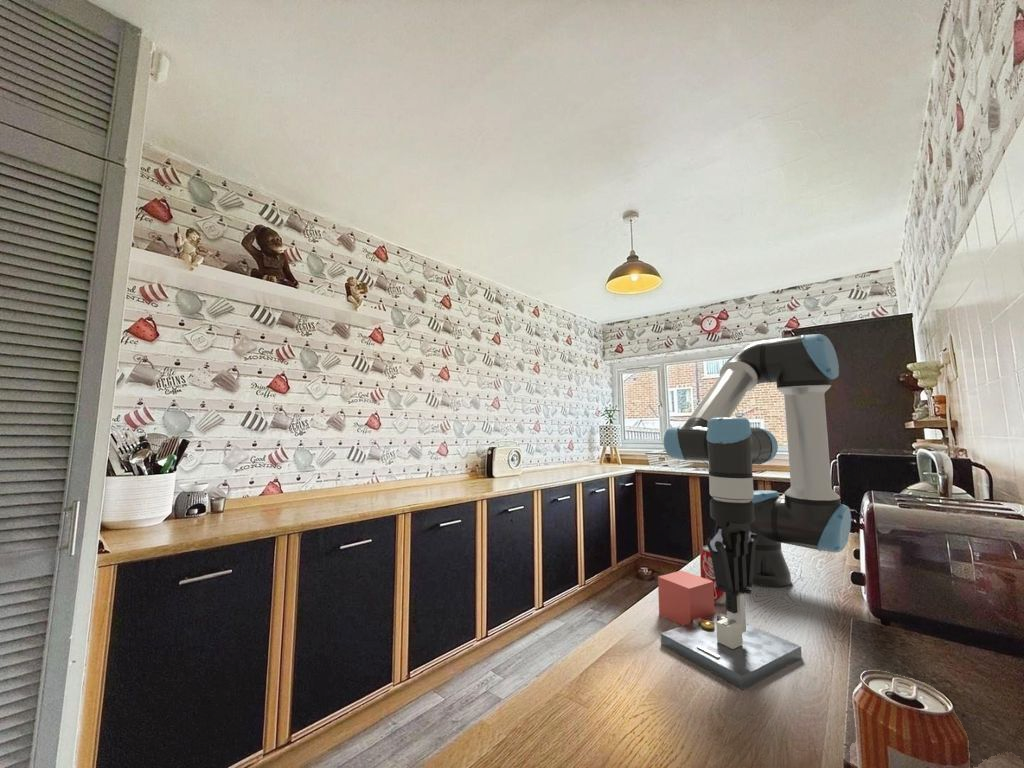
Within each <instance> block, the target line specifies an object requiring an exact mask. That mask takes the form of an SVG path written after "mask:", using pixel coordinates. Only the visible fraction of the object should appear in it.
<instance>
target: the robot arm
mask: <svg viewBox="0 0 1024 768" xmlns="http://www.w3.org/2000/svg"><path fill="white" fill-rule="evenodd" d="M836 352H837V351H836V350H835V347H834V345H833V344H832V342H831V340H830V338H829V337H828V336H826V335H825V334H821V333H816V334H815V333H814V334H813V333H812V334H801V335H797V336H796V335H795V336H788V337H782V338H775V339H767V340H760V341H757V342H753V343H751V344H748V345H747V346H745V347H744V348H742V349H740V350H738V351H737V352H736V353H735V354H733V355H732V356H731V357H729V358H728V360H727V361H726V362H725V363H724V364H723V365H722V367H721V368H720V371H719V377H718V379H717V380H716V381H715V383H714V384H713V386H712V387H711V388H710V389H709V391H708V392H707V393H706V395H705V396H704V397H703V399H702V401H701V402H700V403H699V404H698V406H696V408H695V410H694V411H693V413H692V414H691V416H689V417H688V419H687V420H686V421H685V423H684V425H682V426H679V425H678V426H672V427H669V428H668V429H667V430H666V431H665V432H664V435H663V448H664V449H665V453H666V454H667V456H669V457H670V458H672V459H675V460H676V459H678V460H683V461H696V462H697V461H698V462H700V461H701V462H708V481H709V482H708V483H709V487H708V488H709V489H708V490H709V495H710V496H711V497H712V498H710V499H709V515H710V518H711V519H712V520H714V521H715V528H714V536H713V538H712V539H711V538H707V539H706V541H705V543H706V545H707V546H708V548H709V550H710V553H711V559H712V564H713V569H714V574H715V579H716V585H717V589H718V590H721V591H724V592H725V593H726V605H725V608H726V616H727V619H730V620H734V621H736V622H737V623H739V624H742V633H743V632H746V624H747V617H746V616H747V615H746V594H747V595H751V593H752V589H750V588H752V587H753V585H754V586H760V587H769V588H774V587H775V588H779V587H780V588H781V587H786V586H790V585H791V583H792V579H791V572H790V569H789V566H788V564H787V562H786V560H785V556H784V554H783V552H782V544H786V545H789V546H796V547H802V548H807V549H811V550H817V551H818V552H829V553H840V552H842V551H843V550H844V549H845V548H846V546H847V543H848V540H849V537H850V533H851V528H852V527H851V526H852V513H851V508H850V507H849V506H848V505H845V504H844V503H843V504H842V503H841V496H840V495H839V494H838V493H837V492H835V491H834V489H833V488H832V476H831V475H832V474H831V460H830V449H829V437H828V426H827V425H828V424H827V411H826V410H827V409H826V401H825V400H826V397H825V394H826V392H827V391H828V390H829V389H830V388H831V387H832V380H835V379H837V378H838V377H839V374H840V365H839V359H838V357H837V353H836ZM765 383H766V384H769V383H773V384H774V383H775V384H776V390H777V391H779V392H781V393H782V394H783V397H784V410H785V423H786V424H785V425H786V437H787V438H786V439H787V450H788V467H789V479H790V480H789V481H790V487H789V488H788V489H786V491H784V497H780V494H779V492H778V491H777V490H770V489H769V490H768V489H767V490H763V489H762V490H754V478H753V477H754V476H753V475H754V474H753V465H762V464H765V463H767V462H770V461H771V460H773V459H774V458H775V456H776V455H777V454H778V453H777V452H778V449H779V445H778V441H777V438H776V437H775V436H774V434H773V433H772V432H770V431H769V430H767V429H764V428H760V427H759V426H758V427H757V426H754V427H753V426H751V422H750V420H749V418H746V417H732V415H733V414H734V412H735V411H736V409H737V407H738V406H739V404H740V403H741V401H742V400H743V398H744V396H745V395H746V393H747V392H749V391H752V390H754V388H755V387H756V386H757V385H760V384H765ZM748 588H749V589H748Z"/></svg>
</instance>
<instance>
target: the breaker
mask: <svg viewBox="0 0 1024 768" xmlns="http://www.w3.org/2000/svg"><path fill="white" fill-rule="evenodd" d="M716 625H717V642H719V643H721V644H723V645H725V646H727V647H729V648H731V649H734V648H737V647H739V646H741V645H743V640H742V624H739V623H737V622H736V621H734V620H730V619H727V618H725V619H722V620H720V621H717V622H716Z"/></svg>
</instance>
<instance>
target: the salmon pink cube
mask: <svg viewBox="0 0 1024 768" xmlns="http://www.w3.org/2000/svg"><path fill="white" fill-rule="evenodd" d="M657 585H658V586H657V587H658V590H657V591H658V614H659V615H660V616H662V617H664V618H666V619H667V620H670V621H672V622H674V623H676V624H678V623H679V625H680V624H681V625H680V626H682V625H685V624H688V623H691V622H693V620H694V619H697V618H701V619H702V618H704V617H707V616H710V615H713V614H716V613H715V604H714V586H713V581H711V580H708V579H705V578H702V577H701V576H699V575H696V574H694V573H690V572H687V571H684V570H678V571H674V572H671V573H666V574H663V575H659V576H657Z"/></svg>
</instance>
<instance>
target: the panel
mask: <svg viewBox="0 0 1024 768" xmlns="http://www.w3.org/2000/svg"><path fill="white" fill-rule="evenodd" d="M725 618H727V614H724V613H723V612H716V613H715V614H713V615H710V616H707V617H704V618H702V619H701V618H697V619H694V620H693V622H691V623H688V624H685V625H680V626H676V627H674V628H672V629H669V630H666V631H663V632H661V633H660V645H662V646H663V647H664V648H667V649H669V650H670V651H672V652H674V653H676V654H678V655H680V656H681V657H683V658H685V659H687V660H688V661H690V662H692V663H694V664H696V665H698V666H699V667H701V668H703V669H705V670H707V671H709V672H710V673H712V674H714V675H715V676H717V677H719V678H722V679H723V680H725V681H727V682H728V683H730V684H732V685H734V686H735V687H737V688H739V689H741V690H745V689H747V688H749V687H751V686H753V685H754V684H756V683H758V682H760V681H761V680H764V679H765V678H767V677H770V676H771V675H773V674H774V673H777V672H779V671H781V670H782V669H785V668H786V667H788V666H790V665H791V664H794V663H795V662H797V661H799V660H801V659H802V658H803V657H802V646H801V645H799V644H796V643H794V642H791V641H789V640H787V639H785V638H782V637H779V636H778V635H774V634H772V633H769V632H767V631H765V630H762V629H760V628H758V627H755V626H753V625H751V624H748V623H746V632H743V633H742V640H743V645H741V646H739V647H737V648H734V649H731V648H729V647H727V646H725V645H723V644H721V643H719V642H717V625H716V622H717V621H720V620H722V619H725Z"/></svg>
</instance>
